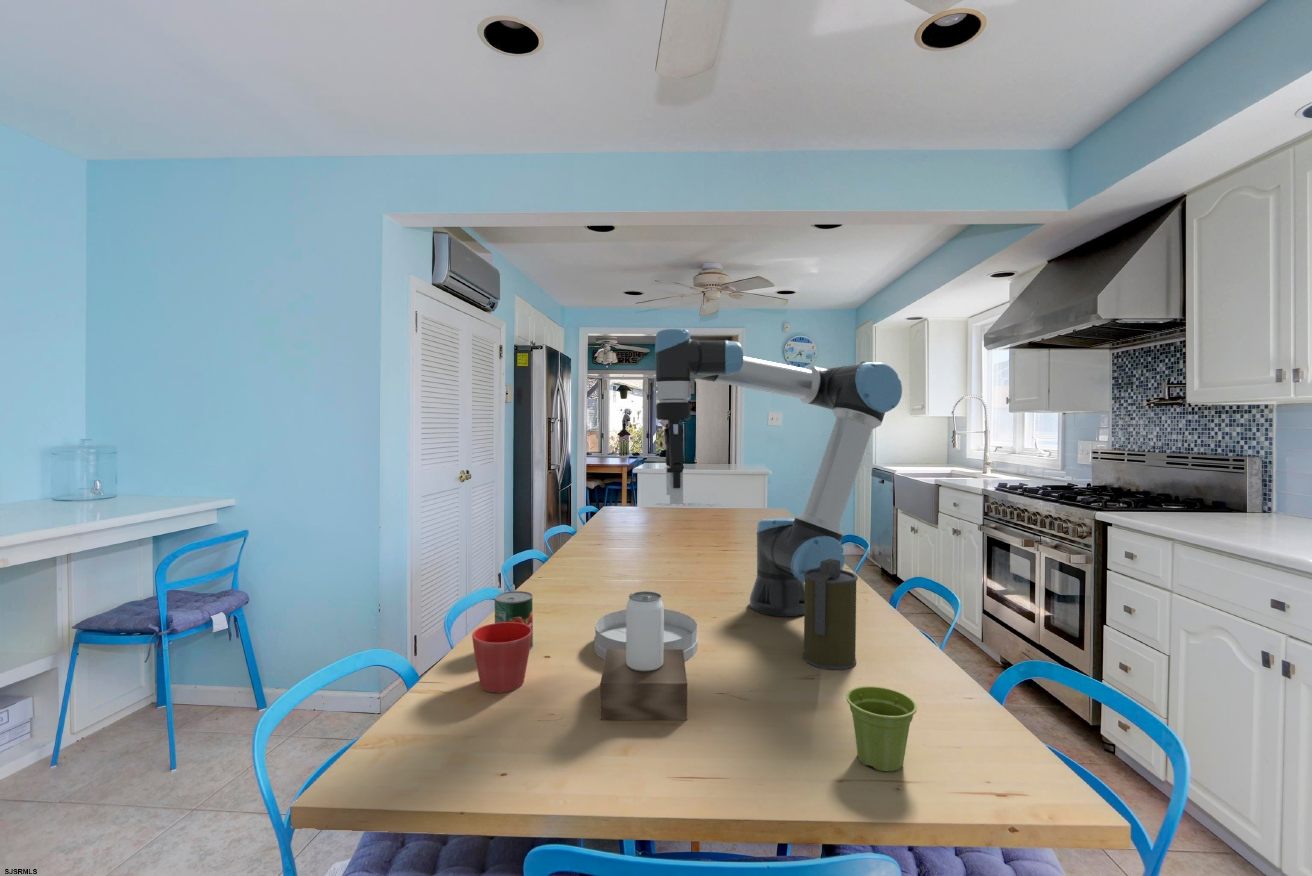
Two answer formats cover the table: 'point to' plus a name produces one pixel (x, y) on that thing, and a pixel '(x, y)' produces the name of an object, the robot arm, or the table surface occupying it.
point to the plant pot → (881, 725)
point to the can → (644, 631)
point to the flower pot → (502, 655)
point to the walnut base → (643, 689)
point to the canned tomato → (515, 608)
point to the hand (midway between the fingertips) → (674, 499)
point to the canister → (830, 616)
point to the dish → (676, 633)
